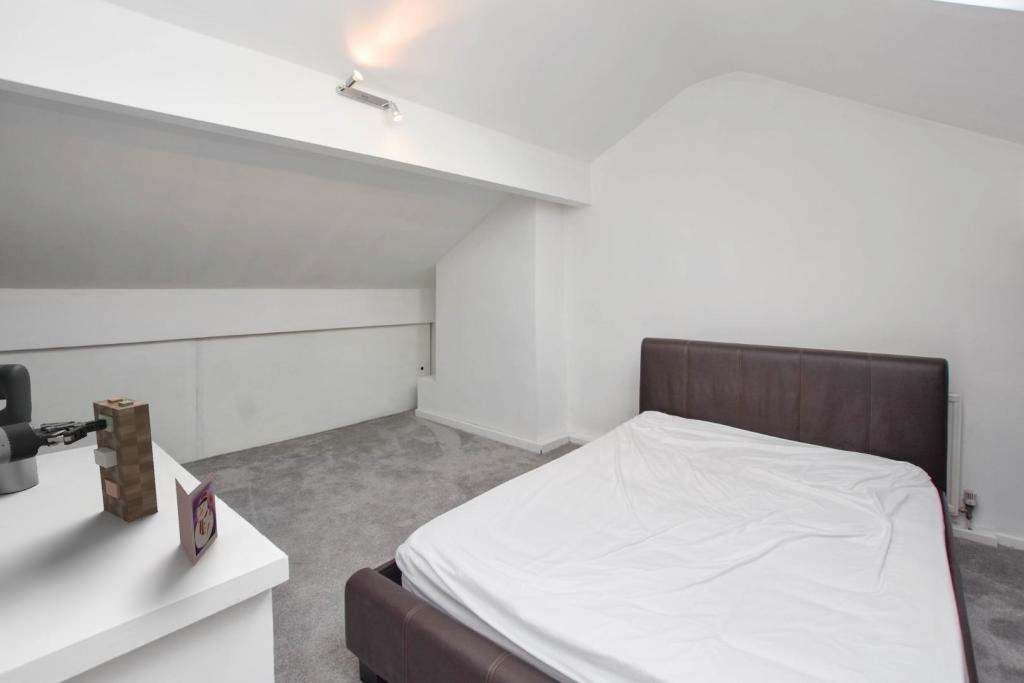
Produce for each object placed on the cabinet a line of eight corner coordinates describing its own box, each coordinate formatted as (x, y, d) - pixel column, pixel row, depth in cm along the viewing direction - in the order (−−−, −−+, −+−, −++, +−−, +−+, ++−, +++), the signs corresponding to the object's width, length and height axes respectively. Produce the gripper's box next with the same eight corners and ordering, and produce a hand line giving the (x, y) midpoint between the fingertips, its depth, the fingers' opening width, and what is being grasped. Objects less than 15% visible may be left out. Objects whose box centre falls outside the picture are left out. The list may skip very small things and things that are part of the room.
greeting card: (198, 566, 97) (193, 494, 95) (157, 569, 96) (150, 497, 94) (221, 535, 108) (217, 471, 106) (185, 538, 107) (179, 473, 105)
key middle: (95, 463, 114) (93, 449, 113) (111, 459, 116) (110, 445, 116) (106, 468, 111) (104, 453, 111) (122, 463, 114) (121, 449, 114)
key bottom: (106, 493, 116) (105, 479, 116) (122, 488, 119) (120, 475, 118) (117, 498, 114) (116, 484, 113) (133, 493, 116) (132, 479, 116)
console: (103, 510, 119) (92, 399, 115) (132, 500, 124) (122, 394, 120) (129, 522, 113) (118, 407, 109) (157, 511, 118) (148, 401, 115)
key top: (99, 428, 114) (98, 414, 113) (116, 425, 117) (114, 411, 116) (110, 432, 112) (109, 417, 111) (127, 428, 114) (125, 414, 114)
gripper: (11, 433, 94) (117, 411, 109) (-15, 422, 100) (89, 403, 115) (16, 470, 95) (120, 444, 110) (-10, 457, 101) (92, 434, 116)
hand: (104, 423), depth 112 cm, fingers closed
